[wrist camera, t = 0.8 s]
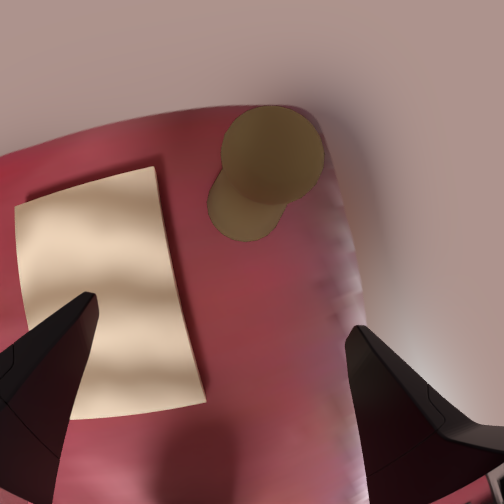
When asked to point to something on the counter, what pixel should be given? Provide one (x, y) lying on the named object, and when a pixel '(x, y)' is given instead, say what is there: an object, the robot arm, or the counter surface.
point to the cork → (263, 171)
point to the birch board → (112, 291)
